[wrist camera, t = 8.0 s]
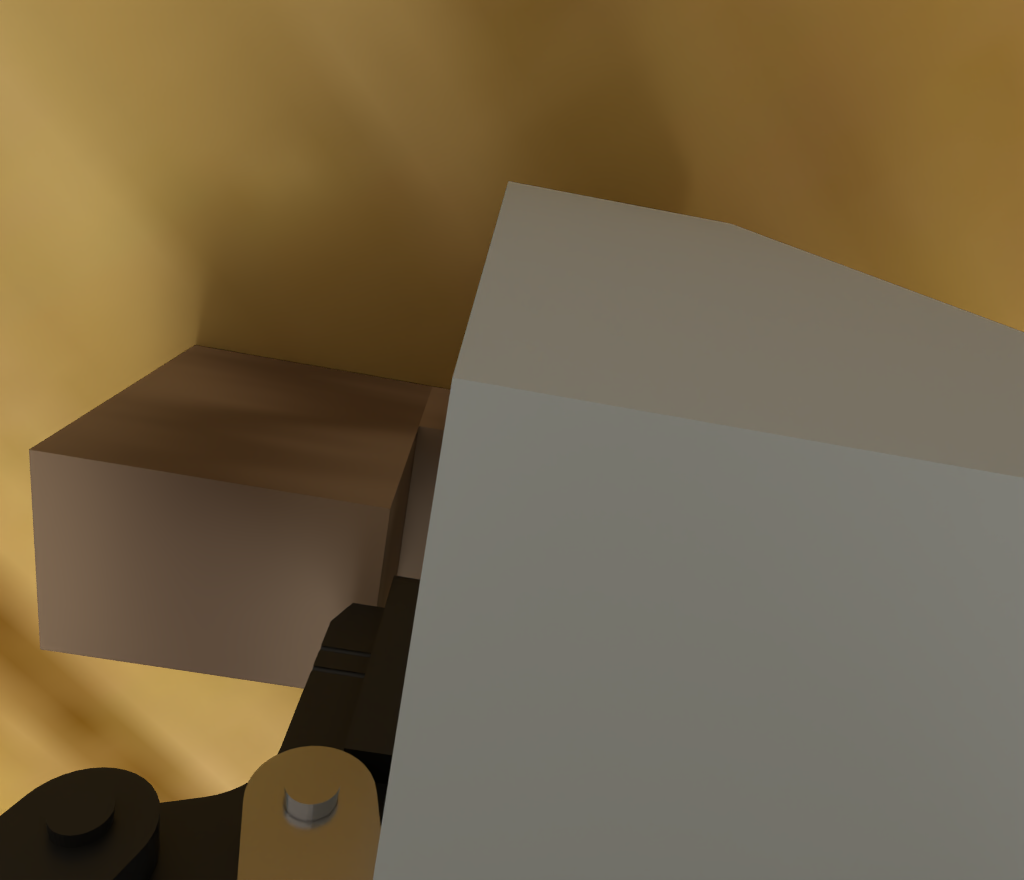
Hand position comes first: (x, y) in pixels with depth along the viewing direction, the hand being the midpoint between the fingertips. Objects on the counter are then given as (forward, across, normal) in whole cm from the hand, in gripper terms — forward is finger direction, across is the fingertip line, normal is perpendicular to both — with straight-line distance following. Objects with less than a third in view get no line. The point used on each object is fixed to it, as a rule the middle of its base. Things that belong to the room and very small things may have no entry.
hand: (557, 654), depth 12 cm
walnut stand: (+6, 0, 0) cm, 6 cm away
